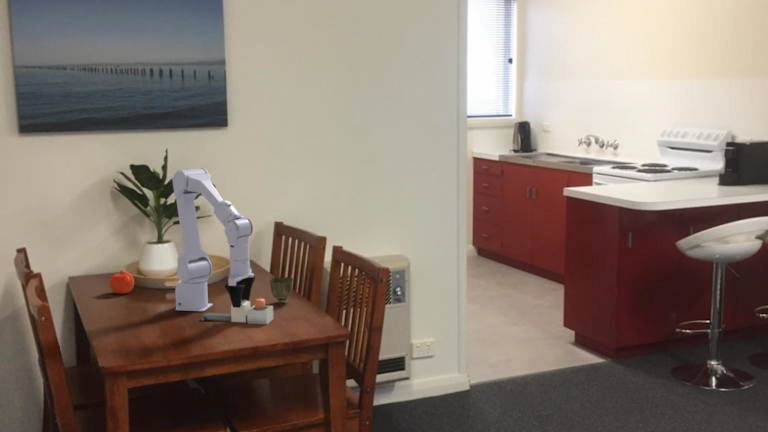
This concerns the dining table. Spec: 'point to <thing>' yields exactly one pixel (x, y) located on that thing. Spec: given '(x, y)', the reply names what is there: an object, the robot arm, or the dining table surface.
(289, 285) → the cup
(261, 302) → the button
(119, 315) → the dining table surface
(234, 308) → the block
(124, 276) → the apple
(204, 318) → the rail
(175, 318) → the dining table surface
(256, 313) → the button housing
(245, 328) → the dining table surface
